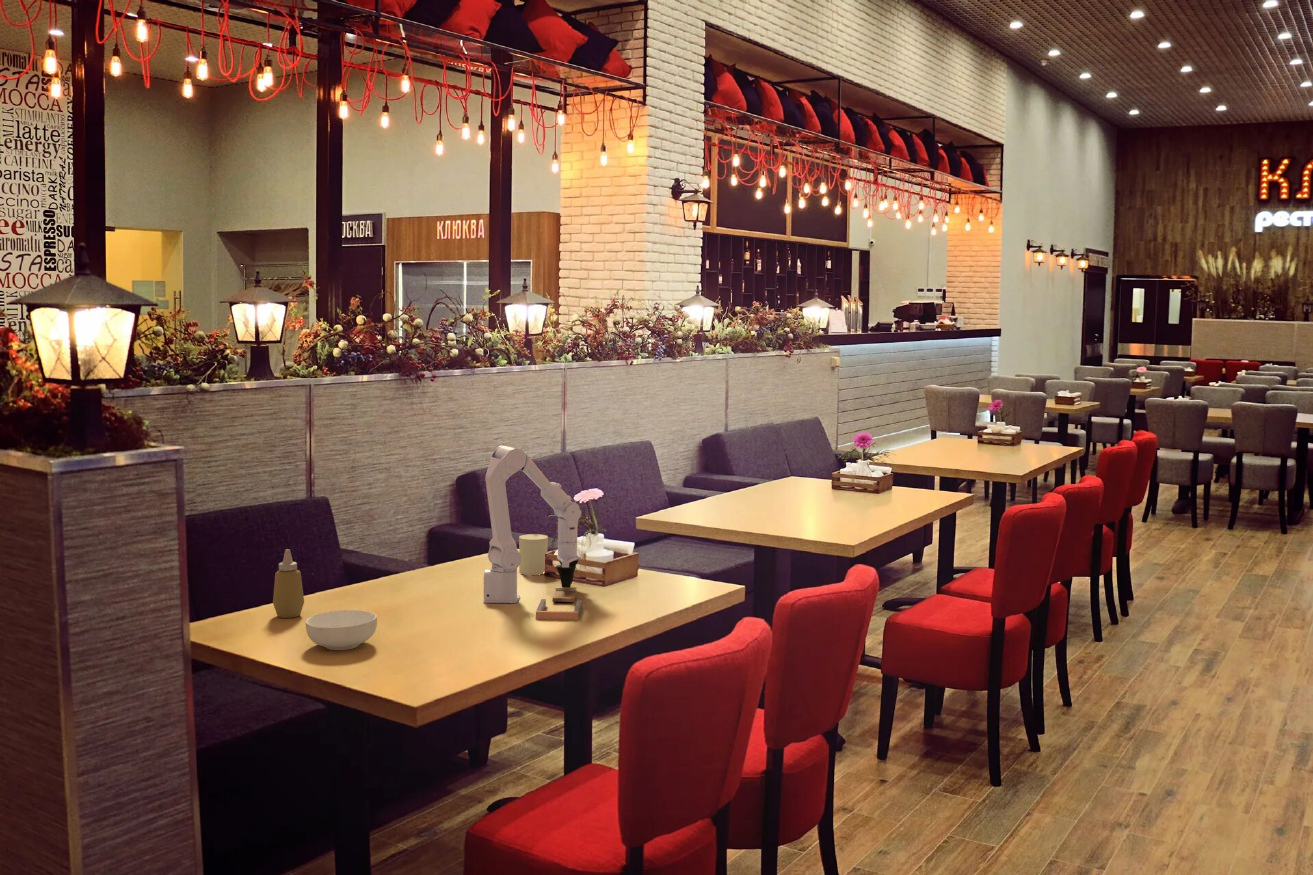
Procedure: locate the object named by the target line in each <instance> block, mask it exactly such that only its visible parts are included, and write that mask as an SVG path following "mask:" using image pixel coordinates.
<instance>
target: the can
mask: <svg viewBox="0 0 1313 875" xmlns="http://www.w3.org/2000/svg"><path fill="white" fill-rule="evenodd" d="M548 540H549V536H548V535H546V534H542V533H541V534H539V533H529V534H522V535H519V537H518V542H519V545H518V546H519V547H518V549H519V550H518V552H519V553H520V555H521V563H520V565H519V566H518V568H519V569H518V573H520V574H519V575H522V574H524V575H523V576H527V575H539V574H543V572H544V569H545V554H546V552H548V548H549V546H548V545H549V544H548V543H549V541H548ZM539 576H540V575H539Z"/></svg>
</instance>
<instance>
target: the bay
mask: <svg viewBox="0 0 1313 875" xmlns="http://www.w3.org/2000/svg"><path fill="white" fill-rule="evenodd" d="M575 604H576V605H575V608H574V611H568V610H567V611H565V610H563V611H562V610H558V611H557V610H545V608H546V607H547V599H546V598H542V599H540V601H539V604H538V606H537V608H536V611H535V620H566V621H568V620H569V621H571V620H572V621H575V620H576V621H578V620H579V617H580V615H581V612H582V608H583V600H582V599H577V602H576V603H575Z"/></svg>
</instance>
